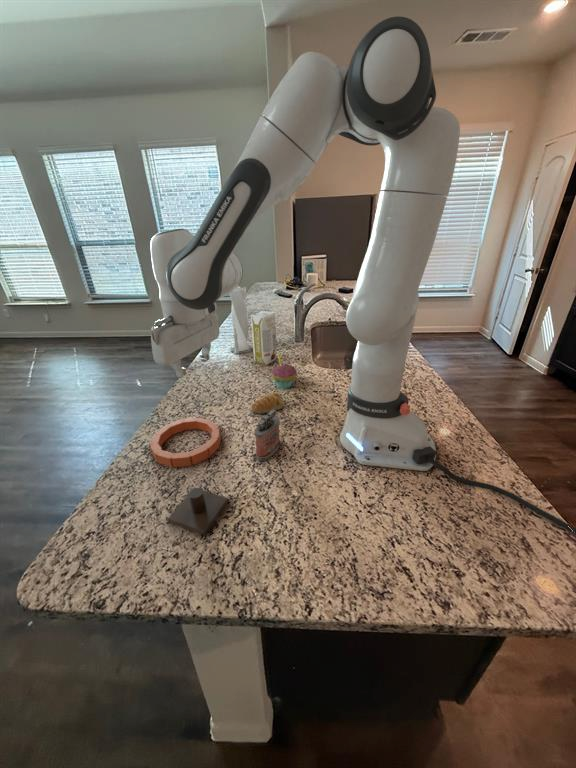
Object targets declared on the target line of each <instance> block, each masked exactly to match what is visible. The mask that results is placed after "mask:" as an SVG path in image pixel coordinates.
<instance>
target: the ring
mask: <svg viewBox="0 0 576 768" xmlns="http://www.w3.org/2000/svg"><path fill="white" fill-rule="evenodd" d="M220 429H221V428H220V426H219V425H217V424H216V423H215V422H214V421H213V420H211V419H207V418H202V417H190V418H182V419H178V420H175V421H173V422H170V423H167V424H166V425H164V426H162V428H160V429H159V430H157V431H156V432H155V433H154V434H153V435H152V438H151V440H150V443H149V447H150V451H151V454H152V456H153V457H154V459H155V461H156V463H158V464H160V465H164V466H167V467H170V468H179V467H190V466H193V465H197V464H198V463H200V462H203V461H205V460H207V459H209V458H210V457H212V455H213V454H214V453H215V452H216V451H217V450H218V449H219V448H220V446H221V438H222V435H221V430H220ZM190 430H191V431H192V430H201V431H204V432H207V433H209V434H210V439H209V440H207V442H206V443H205V444H203V445H202V446H200V447H198V448H195V449H193V450H191V451H187V452H185V451H184V452H177V453H176V452H175V453H174V452H171V451H168V450H167V451H166V450H163V449H162V446H163V444H164V443H165V442H166V441H167V440H168V439H169V438H170V437H171V436H173V435H176V434H178V433H181V432H184V431H190Z"/></svg>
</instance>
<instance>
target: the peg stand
mask: <svg viewBox="0 0 576 768" xmlns="http://www.w3.org/2000/svg"><path fill="white" fill-rule="evenodd" d="M228 503H229V498H227V497H225V496H220V495H218V494H216V493H212V492H209V491H206V490H204V489H202V488H201V487H193V488H192V489H190V490H189V492H188V494H187V496H186V497H185V498H184V499H183V500H182V501H181V503H180V504H179V505H178V506H177V507H176V508H175V510H174V511H173V512H172V513H171V514H170V515H169V517H167V519H168V523H170V524H172V525H175V526H179V527H181V528H184V529H186V530H189V531H192V532H194V533H198V534H200V535H203V536H206V535H207V533H208V532H209V531H210V529H211V528H212V526H213V525H214V524H215V522H216V521H217V519H218V518H219V516H220V515H221V513H223V510H224V509H225V508H226V506H227V505H228Z"/></svg>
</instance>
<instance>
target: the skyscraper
mask: <svg viewBox="0 0 576 768" xmlns="http://www.w3.org/2000/svg"><path fill="white" fill-rule="evenodd" d="M228 295H229V298H230V301H231V311H230V313H231V324H232V330H233V341H234V343H233V346H234V347H231V348H230V349H231V351H232V352H233V353H234V354H235V355H239V354H245V353H246V354H247V353H251V352H253V351H252V349H251V347H250V345H249V343H248V339H249V328H250V324H249V323H250V322H249V320H250V319H249V312H248V308H247V304H246V302H245V301H246V295H247V286H242V287H241V286H240V285H239V286H238V287H237V288H236V289H235V290H233V291H232V292H230V293H229V294H228Z"/></svg>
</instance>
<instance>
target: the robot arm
mask: <svg viewBox="0 0 576 768" xmlns="http://www.w3.org/2000/svg"><path fill="white" fill-rule="evenodd" d="M429 47H430V46H429V43H428V40H427V37H426V35H425V33H424V31H423V29H422V28H421V26H420V25H419V24H418V23H416V22H415V21H414V20H412V18H409V17H405V16H399V15H398V16H391V17H388V18H385V19H383V20H381V21H379V22H378V23H376V24H375V25H374V26H372V27H371V28H370V29H369V30H368V31H367V32H366V33H365V35H364V36H363V37H362V39H360V41H359V42H358V44H357V46H356V48H355V50H354V52H353V53H352V55H351V58H350V61H349V64H348V65H346V66H345V65H344V66H342V65H338V64H336V63H335V62H334V61H333V60H332V59H331V58H330V57H328V56H327V55H325V54H323V53H321V52H317V51H307V52H306V51H305V52H304V53H302V54H301V55H299V56H298V57H297V59H296V60H295V61H294V62H293V64H292V65H291V66H290V68H289V69H288V70H287V72H286V73H285V75H284V76H283V78H282V79H281V80H280V82H279V84H278V85H277V87H275V90H274V91H273V92H272V95H271V97H270V98H269V100H268V102H267V103H266V104H265V107H264V109H263V111H262V113H261V115H260V116H259V119H258V121H257V122H256V126H255V127H254V129H253V131H252V133H251V134H250V137H249V139H248V141H247V143H246V145H245V147H244V149H243V152H242V153H241V156H240V157H239V159H238V161H237V163H236V164H235V166H234V168H233V170H232V172H231V174H230V175H229V177H228V179H227V180H226V181H225V183H224V184H223V187H222V188H221V190H220V191H219V193H218V195H217V196H216V198H215V200H214V202H213V203H212V205H211V207H210V209H209V210H208V212H207V214H206V215H205V217H204V219H203V220H202V223H201V224H200V226H199V227H198V229H197V231H196V232H195V234H193V233H192V232H190V230H188V229H185V228H173V229H168V230H163V231H159V232H157V233H155V234H154V235H153V236H152V238H150V239H151V240H150V256H151V257H150V258H151V265H152V271H153V275H154V279H155V281H156V283H157V285H158V289H159V303H160V307H161V312H162V316H163V318H162V319H158V320H156V321H155V322H154V323H153V325H152V326H151V329H150V343H151V351H152V357H153V360H154V362H155V363H156V364H157V365H160V366H167V367H169V366H170V367H171V368H172V369H173V370H174V372H175V375H176V376H175V377H177V378H183V377H185V376H186V375H187V369H186V368H185V367H182V365H181V364H182V359H183V358H185V357H188V356H189V355H192V353H195V352H196V351H198V350H199V349H201V353H200V354H199V357H200V362H203V363H206V362H208V361H210V351H211V348H212V342H214V341H215V340H217V339H219V336H220V322H219V316H218V313H217V310H218V305H217V303H216V302H217V301H218V300H220V299H222V298H224V297H226V296H228V295H229V293H230V292H232V291H233V290H235V289H236V288H237V287H238V286H239V287H240V285H241V283H242V280H243V275H244V270H243V265H242V262H241V260H240V258H239V257H238V254H236V253H235V250H236V249H237V247H238V245H239V243H240V241H242V239H243V237H244V235H245V234H246V233H247V231H248V229H249V228H250V227H251V225H252V224H253V223H254V221H256V219H257V218H258V217H259V216H261V215H262V214H263V213H264V212H266V211H268V210H269V209H271V208H273V207H274V206H277V205H279V204H281V203H283V202H286V201H288V200H289V199H291V197H292V196H293V195H294V194H295V193H296V192H297V191H298V190H299V189H300V187H301V186H302V185H303V184H304V183H305V181H306V180H307V179H308V177H309V176H310V174H311V172H312V171H313V170H314V168H315V166H316V164H317V163H318V161H319V160H320V158H321V156H322V155H323V153H324V152H325V150H326V148H327V147H328V146H329V144H330V143H331V142H332V141H333V140H334V138H335V137H336V136H337V135H339V136H341V137H343V138H346V139H349V140H352V141H354V142H356V143H357V144H360V145H364V146H373V147H374V146H378V145H381V148H382V149H383V153H384V170H383V176H382V179H381V184H380V189H379V190H380V191H379V194H378V199H377V204H376V209H375V213H374V218H373V223H372V229H371V232H370V237H369V242H368V244H367V245H368V246H367V248H366V252H365V255H364V258H363V261H362V263H361V267H360V270H359V273H358V275H357V278H356V279H357V280H356V283H355V286H354V290H353V293H352V296H351V300H350V302H349V304H348V307H347V310H346V314H345V324H346V327H347V330H348V332H349V333H350V335H351V336H352V338H353V339H355V340H356V341H357V343H356V347H355V350H354V353H353V356H352V365H351V374H350V375H351V376H350V385H349V388H348V391H347V395H346V415H345V416H346V417H345V421H344V424H343V426H342V429H341V431H340V433H339V441H340V444H341V446H342V447H343V448H344V449H345V450H346V451H347V452H349V453H350V454H351V455H352V456H353V457H354V459H355V460H356V461H357V463H358V464H360V465H363V466H371V467H381V468H390V469H391V468H392V469H400V470H401V469H402V470H410V471H412V470H413V471H419V472H428V471H429V470H431V469H432V468H433V466H434V467H436V468H437V469H438V470H440V471H441V472H443V473H444V474H446V476H448V477H449V478H451V479H453V480H454V481H457V482H459V483H462V484H464V485H465V484H466V485H468V486H469V485H470V486H473V487H479V488H483V489H488V490H490V491H494V492H496V493H499V494H501V495H504V496H506V497H508V498H509V499H512V500H513V501H515V502H517V503H519V504H521V505H523V506H524V507H526V508H528V509H530V510H531V511H532V512H535V513H536V514H538V515H540V516H541V517H543V518H546V519H547V520H549V521H551V522H553V523H555V524H556V525H558V526H560V527H561V528H563V529H565V530H567V531H568V532H570V533H572V534H573V535H576V527H574V526H572V525H570V524H569V523H567V522H565V521H564V520H562V519H560V518H558V517H556V516H555V515H552V514H550V513H549V512H547V511H545V510H543V509H541V508H539V507H537V506H535V505H534V504H532V503H530V502H529V501H526V500H525V499H523V498H522V497H519V496H518V495H516V494H514V493H512V492H510V491H508V490H506V489H504V488H501V487H498V486H496V485H493V484H489V483H485V482H481V481H476V480H471V479H467V478H464V477H461V476H458V475H456V474H454V473H453V472H452V471H450V470H449V469H448V468H446V467H445V466H443V465H442V464H441V463H439V462H437V460H436V456H437V449H436V444H435V442H434V440H433V437H431V436H430V434H429V433H428V429H427V426H426V423H425V421H424V420H423V419H422V418H421V417H420V416H419V415H418V414H416V413H415V412H413V410H411V406H410V404H409V396H408V392H407V391H405V394H404V392H402V391H401V390H402V384H403V380H404V379H403V378H404V372H405V366H406V361H407V358H408V353H409V348H410V344H411V340H412V336H413V332H414V327H415V322H416V317H417V312H418V307H419V301H420V294H419V288H420V285H421V282H422V279H423V276H424V273H425V270H426V267H427V264H428V261H429V258H430V256H431V253H432V252H433V248H434V245H435V241H436V237H437V234H438V231H439V226H440V224H441V221H442V217H443V215H444V210H445V206H446V204H447V200H448V197H449V194H450V190H451V186H452V183H453V182H452V181H453V177H454V173H455V169H456V163H457V158H458V151H459V146H460V145H459V144H460V135H461V125H460V121H459V119H458V118H457V116H456V115H455V114H453V112H451V111H450V110H448V109H446V108H442V107H440V106H439V107H438V106H434V104H435V102H436V99H437V90H436V85H435V79H434V74H433V69H432V59H431V52H430V51H431V50H430V48H429ZM566 523H567V524H566ZM568 526H569V527H570V528H571V529H572V530H573V532H572V530H571V529H570V528H569V527H568ZM574 532H575V533H574Z"/></svg>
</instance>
